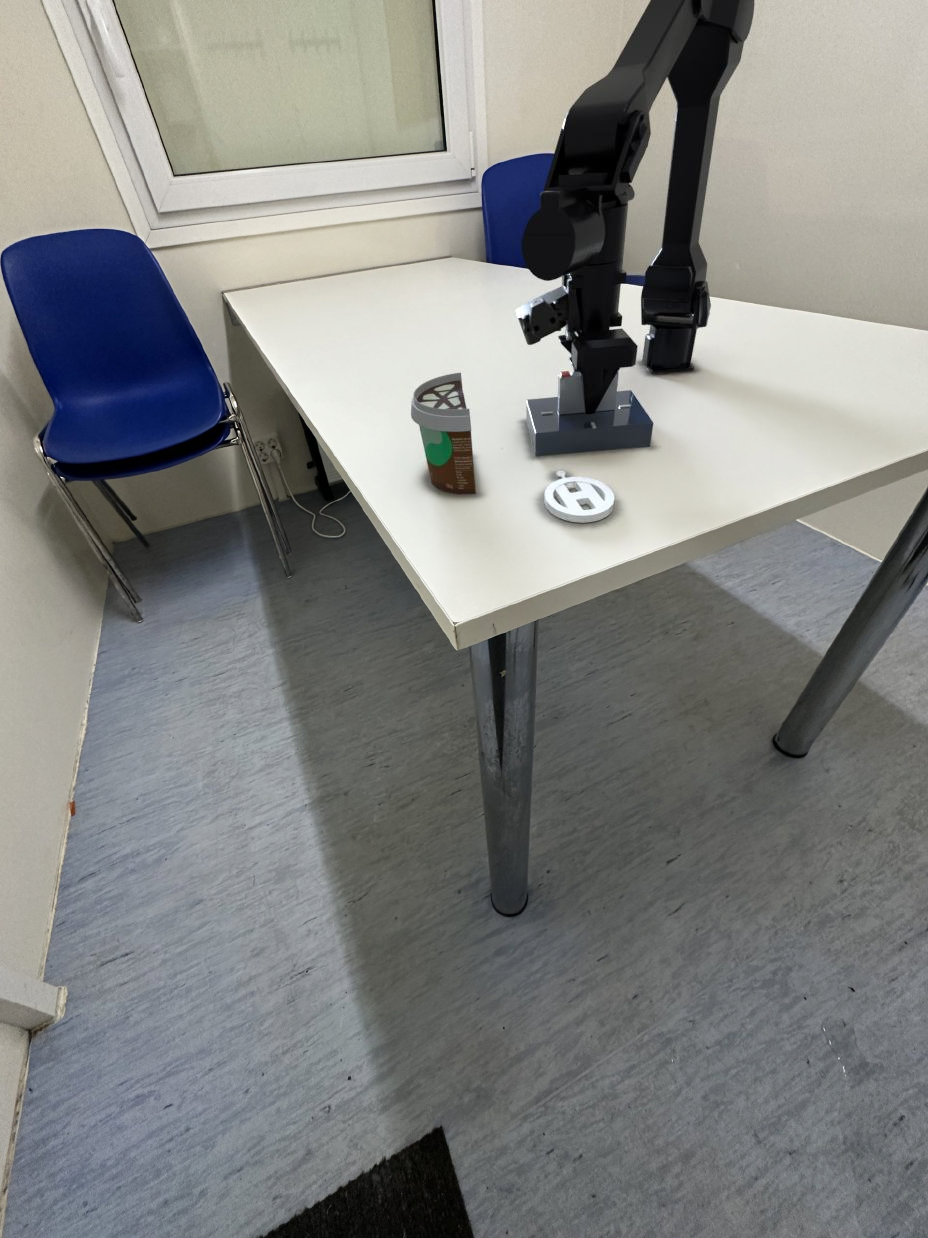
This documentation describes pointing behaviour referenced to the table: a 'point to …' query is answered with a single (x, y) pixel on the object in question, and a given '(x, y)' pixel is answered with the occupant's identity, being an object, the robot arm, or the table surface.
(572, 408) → the gray bar
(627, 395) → the tap base
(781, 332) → the table surface
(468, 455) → the food container
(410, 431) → the table surface
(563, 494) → the pendant
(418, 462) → the table surface
